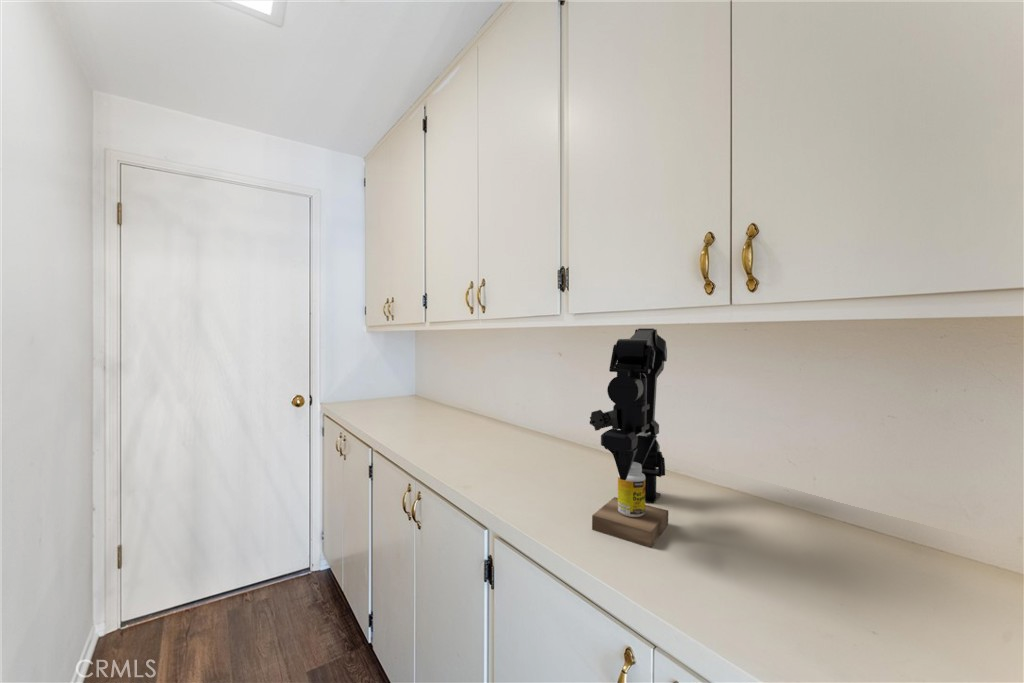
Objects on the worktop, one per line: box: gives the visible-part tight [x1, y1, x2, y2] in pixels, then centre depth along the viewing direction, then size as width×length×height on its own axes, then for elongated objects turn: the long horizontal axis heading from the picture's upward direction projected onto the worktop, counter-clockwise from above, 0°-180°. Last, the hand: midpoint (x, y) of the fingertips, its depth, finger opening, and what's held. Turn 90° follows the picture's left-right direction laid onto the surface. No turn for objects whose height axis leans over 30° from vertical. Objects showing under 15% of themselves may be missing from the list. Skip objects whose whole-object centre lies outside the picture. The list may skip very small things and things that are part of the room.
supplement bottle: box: [617, 462, 646, 517], centre depth 85 cm, size 6×6×10 cm
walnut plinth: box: [591, 496, 669, 549], centre depth 85 cm, size 12×12×3 cm
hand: (631, 473), depth 85 cm, fingers open, 9 cm apart
